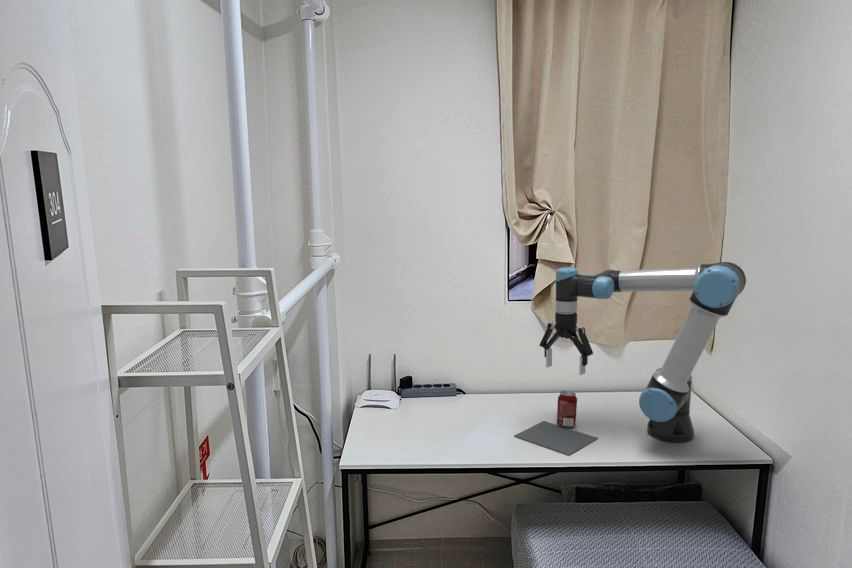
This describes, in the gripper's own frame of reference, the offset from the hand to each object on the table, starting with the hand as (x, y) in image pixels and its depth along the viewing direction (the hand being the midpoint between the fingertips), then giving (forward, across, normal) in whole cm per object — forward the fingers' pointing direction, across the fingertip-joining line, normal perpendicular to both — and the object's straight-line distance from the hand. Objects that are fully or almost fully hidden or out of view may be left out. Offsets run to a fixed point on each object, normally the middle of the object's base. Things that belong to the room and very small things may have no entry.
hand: (565, 370), depth 223 cm
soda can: (+21, -1, +1) cm, 21 cm away
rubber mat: (+21, -4, +12) cm, 24 cm away
